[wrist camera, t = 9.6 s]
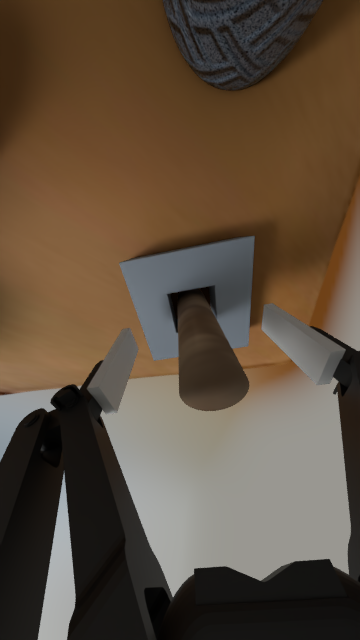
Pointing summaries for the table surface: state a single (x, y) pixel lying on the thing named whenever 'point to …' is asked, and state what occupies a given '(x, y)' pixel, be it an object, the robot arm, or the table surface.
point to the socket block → (190, 273)
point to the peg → (206, 357)
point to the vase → (237, 36)
